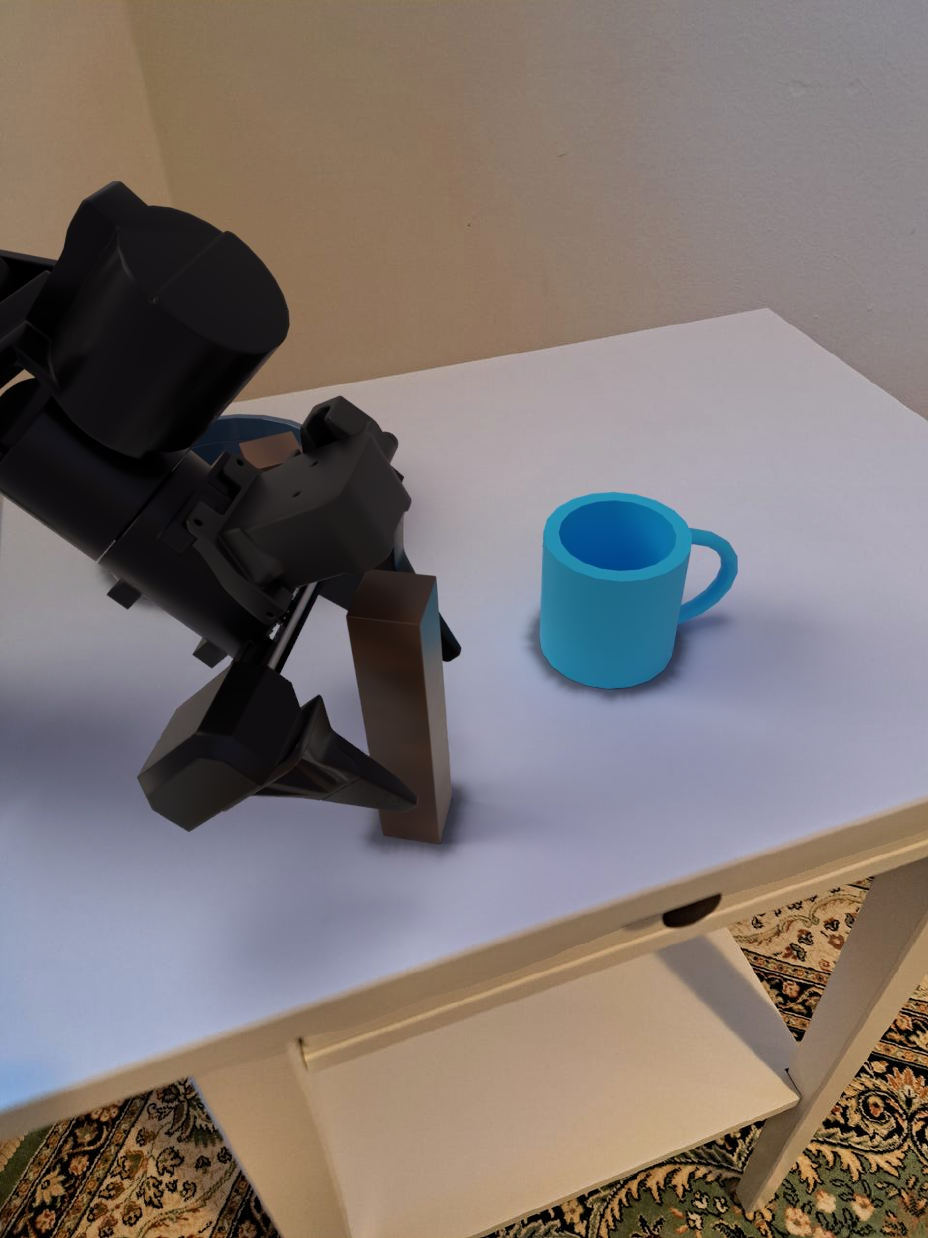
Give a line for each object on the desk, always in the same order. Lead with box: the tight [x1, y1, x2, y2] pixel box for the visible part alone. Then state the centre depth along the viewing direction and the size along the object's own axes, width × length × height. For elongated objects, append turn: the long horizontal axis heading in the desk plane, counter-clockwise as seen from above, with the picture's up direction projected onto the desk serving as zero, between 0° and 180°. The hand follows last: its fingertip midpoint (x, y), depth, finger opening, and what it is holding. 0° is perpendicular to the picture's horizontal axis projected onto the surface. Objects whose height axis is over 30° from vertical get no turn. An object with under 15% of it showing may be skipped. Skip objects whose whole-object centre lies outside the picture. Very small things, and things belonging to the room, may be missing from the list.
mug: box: [539, 491, 739, 690], centre depth 52 cm, size 12×8×8 cm
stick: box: [345, 569, 453, 845], centre depth 40 cm, size 3×3×15 cm
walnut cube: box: [239, 431, 303, 472], centre depth 65 cm, size 4×4×4 cm
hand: (435, 725), depth 40 cm, fingers open, 9 cm apart
